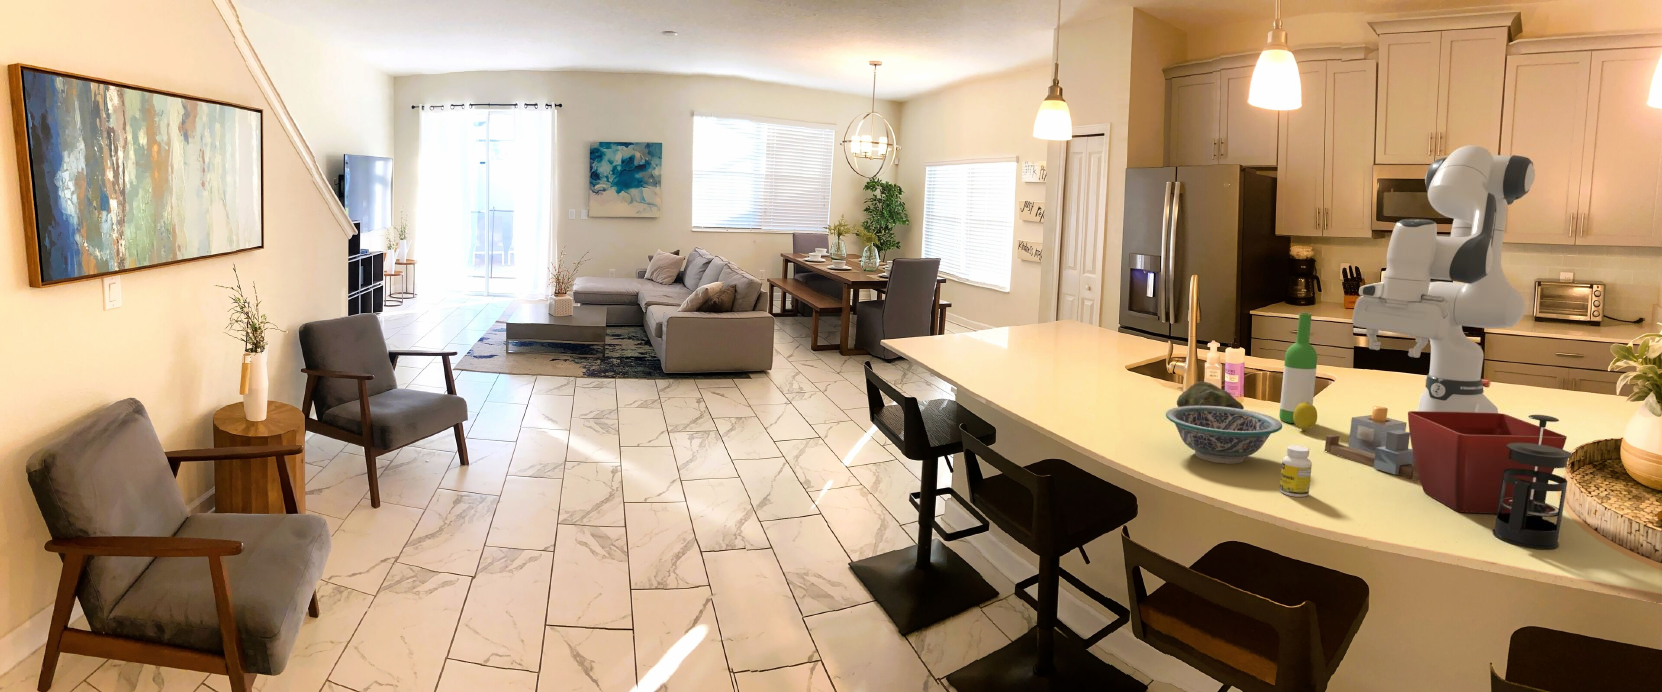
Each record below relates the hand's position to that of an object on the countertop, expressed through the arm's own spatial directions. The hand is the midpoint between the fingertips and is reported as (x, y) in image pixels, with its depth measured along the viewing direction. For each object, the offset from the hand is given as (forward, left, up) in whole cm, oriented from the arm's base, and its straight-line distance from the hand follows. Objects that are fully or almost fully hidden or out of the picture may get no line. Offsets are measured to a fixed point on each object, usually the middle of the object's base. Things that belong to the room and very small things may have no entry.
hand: (1393, 353), depth 193 cm
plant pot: (+6, +24, -27) cm, 36 cm away
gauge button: (-9, -8, -20) cm, 23 cm away
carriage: (+1, +4, -26) cm, 27 cm away
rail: (+1, -1, -26) cm, 26 cm away
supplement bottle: (+35, +7, -27) cm, 45 cm away
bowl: (+30, -18, -27) cm, 44 cm away
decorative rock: (+3, -49, -27) cm, 56 cm away
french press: (+17, +40, -27) cm, 51 cm away
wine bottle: (-15, -36, -27) cm, 47 cm away
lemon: (-9, -28, -27) cm, 39 cm away
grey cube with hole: (-9, -8, -26) cm, 29 cm away
